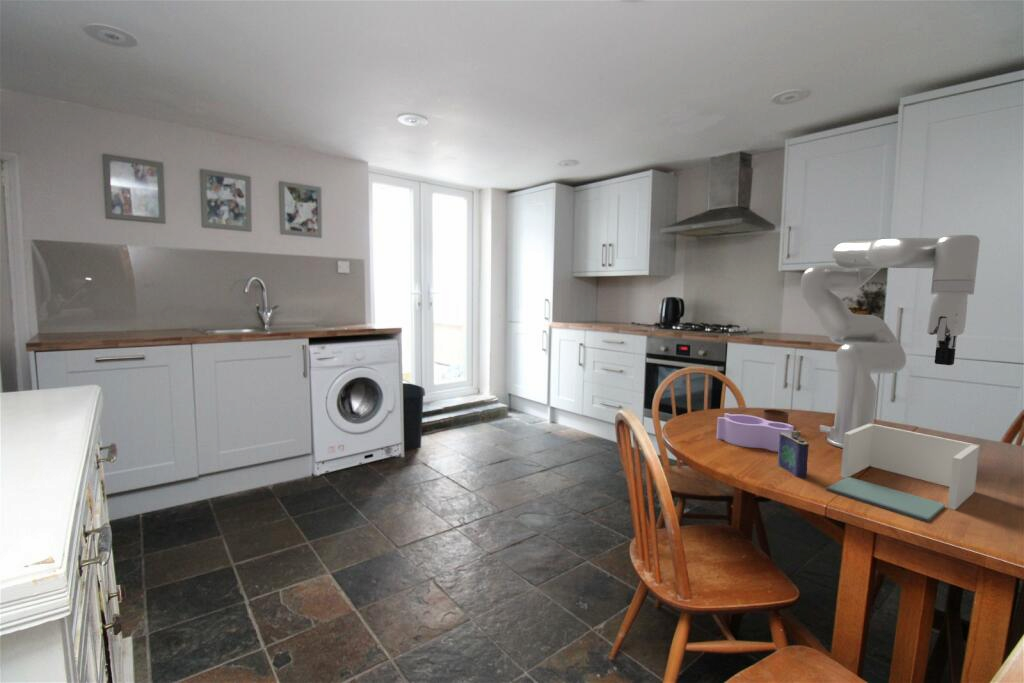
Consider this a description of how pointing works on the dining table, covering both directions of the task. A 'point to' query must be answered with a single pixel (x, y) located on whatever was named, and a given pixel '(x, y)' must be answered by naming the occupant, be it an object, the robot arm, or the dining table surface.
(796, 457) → the flask
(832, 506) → the dining table surface
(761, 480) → the dining table surface
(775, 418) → the cup and saucer
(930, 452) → the teal front storage box
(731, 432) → the purple cup holder
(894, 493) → the panel
